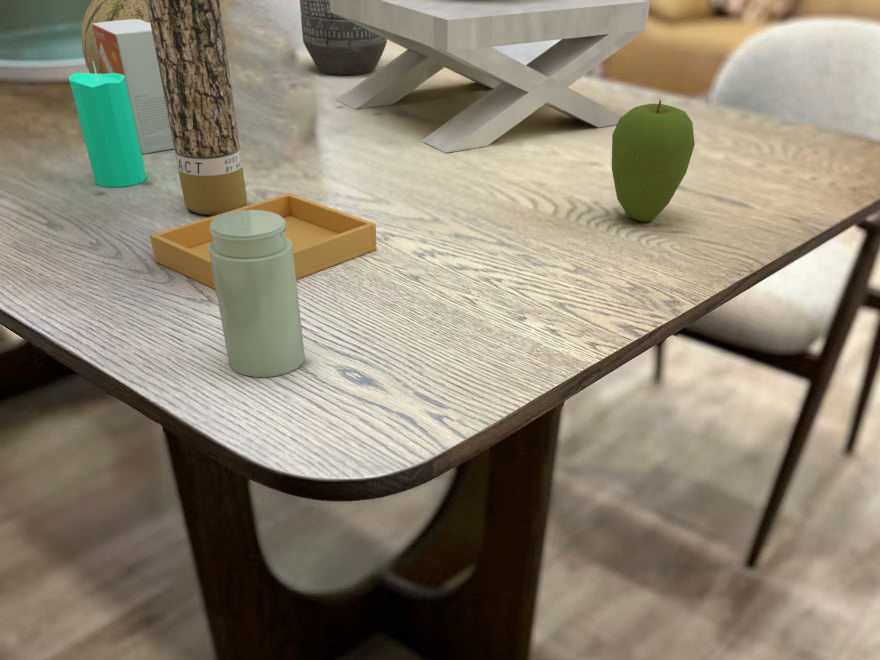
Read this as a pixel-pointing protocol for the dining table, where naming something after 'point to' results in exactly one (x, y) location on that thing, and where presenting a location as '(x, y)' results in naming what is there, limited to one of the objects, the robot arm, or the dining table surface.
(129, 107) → the candle
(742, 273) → the dining table surface
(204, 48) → the paper tube
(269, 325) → the jar
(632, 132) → the apple
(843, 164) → the dining table surface
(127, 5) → the cantaloupe
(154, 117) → the small box
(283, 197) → the tray
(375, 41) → the planter
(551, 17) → the x-leg display riser
